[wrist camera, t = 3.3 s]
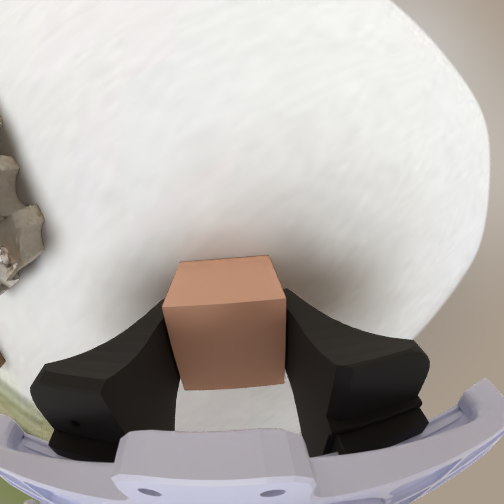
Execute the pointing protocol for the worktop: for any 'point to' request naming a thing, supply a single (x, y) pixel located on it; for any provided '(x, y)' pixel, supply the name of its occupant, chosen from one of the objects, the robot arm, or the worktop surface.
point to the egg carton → (16, 227)
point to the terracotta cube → (227, 323)
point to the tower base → (1, 360)
